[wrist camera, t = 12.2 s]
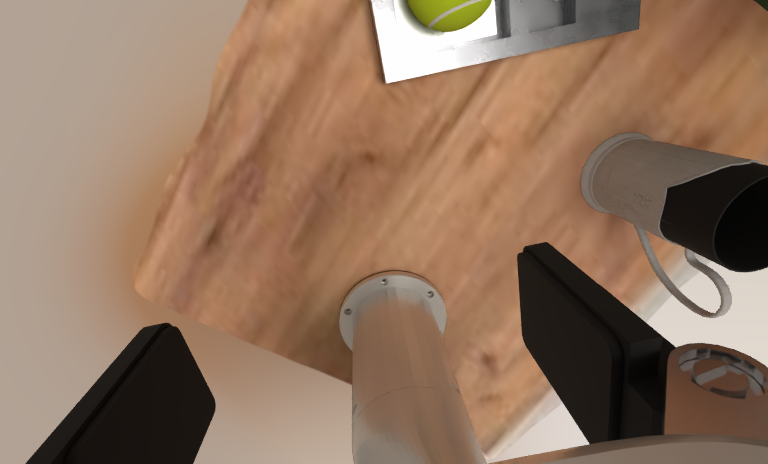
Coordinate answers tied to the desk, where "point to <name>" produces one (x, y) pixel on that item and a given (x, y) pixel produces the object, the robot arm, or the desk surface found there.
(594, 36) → the tray
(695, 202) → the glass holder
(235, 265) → the desk surface
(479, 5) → the tennis ball
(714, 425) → the robot arm
